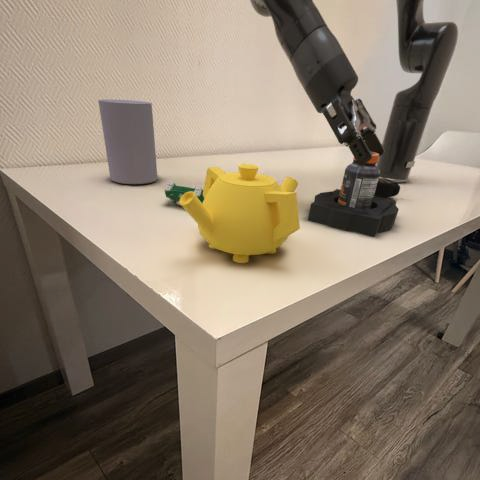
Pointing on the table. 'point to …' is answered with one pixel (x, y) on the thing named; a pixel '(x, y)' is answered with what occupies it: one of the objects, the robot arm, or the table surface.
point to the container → (129, 141)
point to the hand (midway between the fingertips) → (373, 159)
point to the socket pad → (353, 214)
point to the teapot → (244, 211)
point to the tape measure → (386, 188)
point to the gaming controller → (182, 192)
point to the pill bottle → (359, 184)
